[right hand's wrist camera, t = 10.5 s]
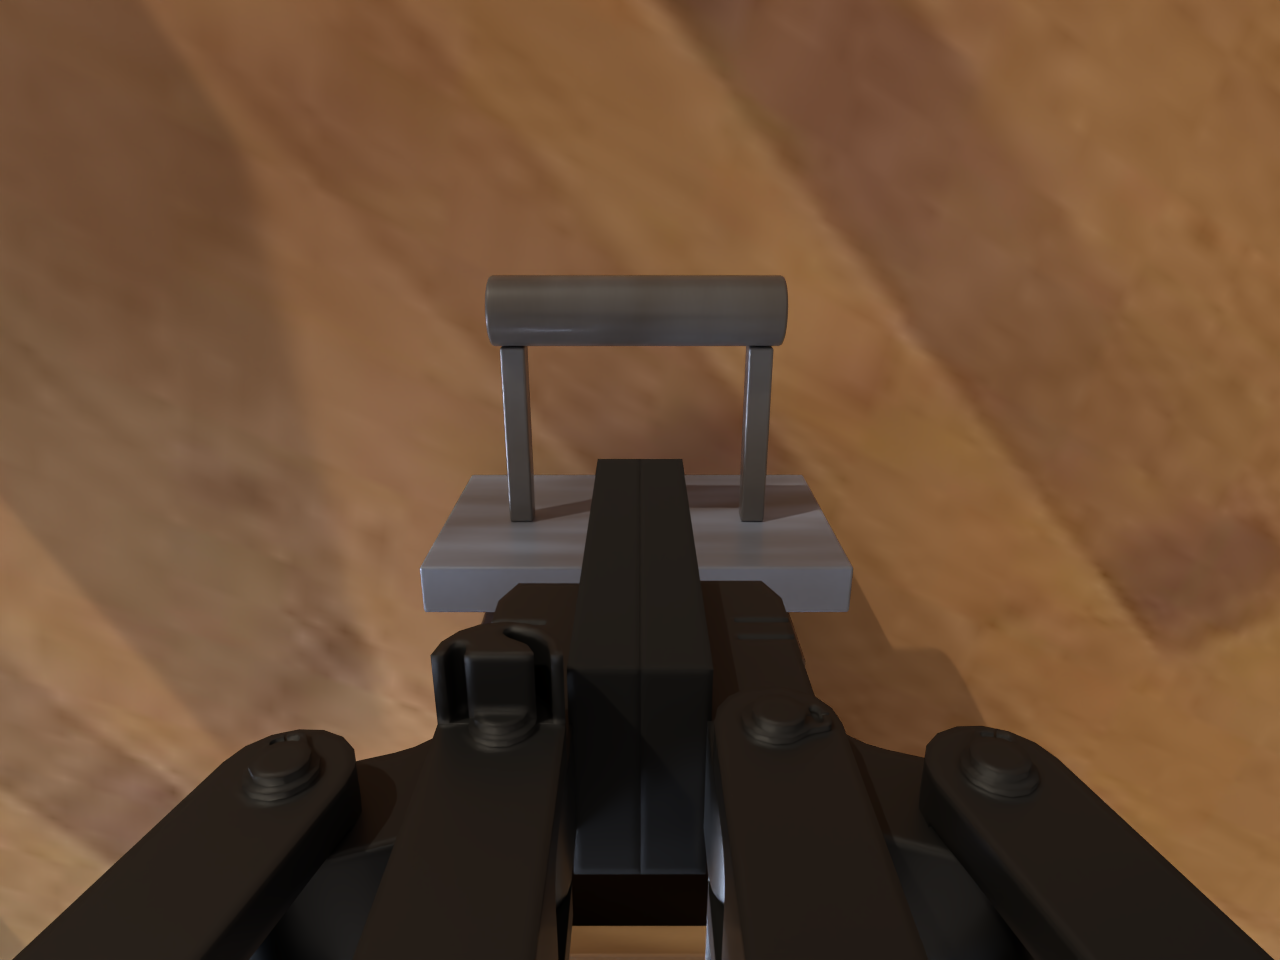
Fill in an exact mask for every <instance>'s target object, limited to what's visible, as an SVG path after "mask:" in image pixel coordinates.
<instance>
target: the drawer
mask: <svg viewBox="0 0 1280 960" xmlns="http://www.w3.org/2000/svg"><path fill="white" fill-rule="evenodd" d="M485 318H486V327H487V333H488V337H489V340H490V342H491V344H492V345H494V346H502V347H501V348H500V360H501V376H502V393H503V409H504V426H505V442H506V459H507V475H472V476H471V478H470V480H469V482H468V483H467V485H466V487H465V489H464V491H463V492H462V494H461V496H460V498H459V499H458V501H457V503H456V505H455V507H454V508H453V510H452V512H451V514H450V515H449V517H448V519H447V521H446V523H445V524H444V526H443V528H442V530H441V531H440V533H439V535H438V537H437V539H436V540H435V542H434V544H433V546H432V547H431V549H430V551H429V553H428V555H427V556H426V558H425V560H424V562H423V563H422V565H421V567H420V574H421V584H422V593H423V603H424V610H425V612H485V615H484V618H483V621H482V624H486V623H492V619H493V616H494V613H495V610H496V607H497V604H498V601H499V600H500V599H501V598H502V597H503V596H504V595H506V594H507V593H508V592H509V591H510V590H511V589H513V588H514V587H515V586H516V585H517V584H518V583H580V576H581V569H582V562H583V556H584V549H585V542H586V536H587V529H588V522H589V515H590V509H591V502H592V495H593V488H594V482H595V475H534V473H533V453H532V432H531V412H530V391H529V371H528V350H527V346H746V361H745V383H744V405H743V427H742V449H741V471H740V475H685V482H686V488H687V495H688V502H689V509H690V515H691V522H692V529H693V536H694V542H695V549H696V556H697V562H698V569H699V576H700V581H763V582H764V583H765V584H766V585H767V586H768V587H769V588H771V589H772V590H773V591H774V592H775V593H776V594H778V595H779V596H780V597H781V598H782V600H783V603H784V606H785V609H786V612H787V615H788V621H789V622H790V624H791V627H792V630H793V633H794V639H796V642H797V645H798V648H799V651H800V654H801V657H802V660H803V663H804V666H805V659H804V656H803V653H802V650H801V647H800V644H799V641H798V638H797V635H796V632H795V629H794V627H793V624H792V621H791V618H790V615H789V612H848V610H849V605H850V595H851V585H852V575H853V567H852V565H851V563H850V561H849V559H848V558H847V556H846V554H845V552H844V550H843V548H842V547H841V545H840V543H839V541H838V539H837V537H836V536H835V534H834V532H833V530H832V528H831V526H830V525H829V523H828V521H827V519H826V517H825V515H824V514H823V512H822V510H821V508H820V506H819V504H818V503H817V501H816V499H815V497H814V495H813V493H812V492H811V490H810V488H809V486H808V484H807V482H806V481H805V479H804V477H803V476H802V475H766V470H767V452H768V435H769V418H770V400H771V383H772V366H773V348H772V347H771V346H780V345H781V344H782V343H783V340H784V338H785V334H786V328H787V318H788V292H787V285H786V281H785V278H784V277H783V276H781V275H493V276H490V277H489V279H488V281H487V285H486V292H485ZM572 901H573V922H572V926H707V901H708V867H707V857H706V874H574V861H573V871H572Z"/></svg>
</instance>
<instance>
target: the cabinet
mask: <svg viewBox="0 0 1280 960" xmlns="http://www.w3.org/2000/svg"><path fill="white" fill-rule="evenodd" d="M706 927H707V926H572V933H571V945H570V956H569V960H705V953H706Z"/></svg>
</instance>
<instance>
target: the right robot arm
mask: <svg viewBox="0 0 1280 960" xmlns="http://www.w3.org/2000/svg"><path fill="white" fill-rule="evenodd" d="M431 664H432V673H433V683H434V692H435V702H436V711H437V721H438V725H437V728H436V731H435V734H434V736H433V739H431V740H428V741H426V742H424V743H422V744H420V745H418V746H416V747H413V748H409V749H406V750H403V751H399V752H396V753H392V754H387V755H383V756H378V757H374V758H369V759H364V760H360V761H356V759H355V752H354V749H353V748H352V746H351V745H350V744H349V743H348V742H347V741H346V740H345V739H344V738H343V737H342V736H339V735H336V734H333V733H330V732H328V731H325V730H300V729H299V730H294V731H289V732H284V733H279V734H275V735H271V736H268V737H266V738H264V739H261V740H259V741H257V742H254V743H252V744H250V745H247V746H245V747H244V748H242V749H241V750H240V751H238V752H237V753H235V754H234V755H233V756H231V757H230V758H228V759H227V760H226V761H224V762H223V763H222V764H221V765H220V766H219V767H218V768H217V769H215V770H214V771H213V772H212V773H211V774H210V775H209V776H208V777H207V778H206V779H205V780H204V781H203V782H202V783H201V784H199V785H198V786H197V787H196V788H195V789H194V790H193V791H192V792H191V793H190V794H189V795H188V796H187V797H186V798H184V799H183V800H182V801H181V802H180V803H179V804H178V805H177V806H176V807H175V808H174V809H173V810H172V811H171V812H170V813H168V814H167V815H166V816H165V817H164V818H163V819H162V820H161V821H160V822H159V823H158V824H157V825H156V826H155V827H154V828H152V829H151V830H150V831H149V832H148V833H147V834H146V835H145V836H144V837H143V838H142V839H141V840H140V841H139V842H137V843H136V844H135V845H134V846H133V847H132V848H131V849H130V850H129V851H128V852H127V853H126V854H125V855H124V856H123V857H121V858H120V859H119V860H118V861H117V862H116V863H115V864H114V865H113V866H112V867H111V868H110V869H109V870H108V871H106V872H105V873H104V874H103V875H102V876H101V877H100V878H99V879H98V880H97V881H96V882H95V883H94V884H93V885H92V886H90V887H89V888H88V889H87V890H86V891H85V892H84V893H83V894H82V895H81V896H80V897H79V898H78V899H77V900H76V901H74V902H73V903H72V904H71V905H70V906H69V907H68V908H67V909H66V910H65V911H64V912H63V913H62V914H61V915H59V916H58V917H57V918H56V919H55V920H54V921H53V922H52V923H51V924H50V925H49V926H48V927H47V928H46V929H45V930H43V931H42V932H41V933H40V934H39V935H38V936H37V937H36V938H35V939H34V940H33V941H32V942H31V943H30V944H29V945H27V946H26V947H25V948H24V949H23V950H22V951H21V952H20V953H19V954H18V955H17V956H16V957H15V958H14V959H12V960H569V956H570V945H571V933H572V922H573V901H572V871H573V861H574V874H706V857H707V867H708V901H707V927H706V953H705V960H1274V959H1273V958H1272V957H1271V956H1270V955H1269V954H1267V953H1266V952H1265V951H1264V950H1263V949H1262V948H1261V947H1260V946H1259V945H1258V944H1257V943H1256V942H1255V941H1253V940H1252V939H1251V938H1250V937H1249V936H1248V935H1247V934H1246V933H1245V932H1244V931H1243V930H1242V929H1241V928H1239V927H1238V926H1237V925H1236V924H1235V923H1234V922H1233V921H1232V920H1231V919H1230V918H1229V917H1228V916H1227V915H1225V914H1224V913H1223V912H1222V911H1221V910H1220V909H1219V908H1218V907H1217V906H1216V905H1215V904H1214V903H1213V902H1212V901H1210V900H1209V899H1208V898H1207V897H1206V896H1205V895H1204V894H1203V893H1202V892H1201V891H1200V890H1199V889H1198V888H1196V887H1195V886H1194V885H1193V884H1192V883H1191V882H1190V881H1189V880H1188V879H1187V878H1186V877H1185V876H1184V875H1182V874H1181V873H1180V872H1179V871H1178V870H1177V869H1176V868H1175V867H1174V866H1173V865H1172V864H1171V863H1170V862H1168V861H1167V860H1166V859H1165V858H1164V857H1163V856H1162V855H1161V854H1160V853H1159V852H1158V851H1157V850H1156V849H1154V848H1153V847H1152V846H1151V845H1150V844H1149V843H1148V842H1147V841H1146V840H1145V839H1144V838H1143V837H1142V836H1140V835H1139V834H1138V833H1137V832H1136V831H1135V830H1134V829H1133V828H1132V827H1131V826H1130V825H1129V824H1128V823H1126V822H1125V821H1124V820H1123V819H1122V818H1121V817H1120V816H1119V815H1118V814H1117V813H1116V812H1115V811H1114V810H1112V809H1111V808H1110V807H1109V806H1108V805H1107V804H1106V803H1105V802H1104V801H1103V800H1102V799H1101V798H1100V797H1098V796H1097V795H1096V794H1095V793H1094V792H1093V791H1092V790H1091V789H1090V788H1089V787H1088V786H1087V785H1086V784H1084V783H1083V782H1082V781H1081V780H1080V779H1079V778H1078V777H1077V776H1076V775H1075V774H1074V773H1073V772H1072V771H1070V770H1069V769H1068V768H1067V767H1066V766H1065V765H1064V764H1063V763H1062V762H1061V761H1060V760H1059V759H1058V758H1056V757H1055V756H1053V755H1052V754H1051V753H1049V752H1048V751H1046V750H1045V749H1044V748H1042V747H1041V746H1039V745H1038V744H1036V743H1035V742H1033V741H1030V740H1028V739H1025V738H1023V737H1021V736H1018V735H1016V734H1014V733H1011V732H1009V731H1004V730H1000V729H994V728H989V727H984V726H959V727H954V728H951V729H949V730H946V731H943V732H940V733H937V735H936V736H935V737H934V738H933V739H932V740H931V741H930V742H929V743H928V745H927V746H926V752H925V758H922V757H918V756H913V755H908V754H904V753H899V752H895V751H890V750H886V749H882V748H879V747H875V746H872V745H869V744H866V743H863V742H861V741H859V740H857V739H855V738H853V737H850V736H848V735H847V734H846V732H845V730H844V727H843V724H842V722H841V721H840V719H839V718H838V716H837V715H836V713H835V712H834V711H833V709H832V708H831V707H829V706H828V705H826V704H825V703H824V702H822V701H821V700H819V699H818V698H816V697H815V696H814V693H813V690H812V687H811V684H810V681H809V678H808V675H807V672H806V669H805V666H804V663H803V660H802V657H801V654H800V651H799V648H798V645H797V642H796V639H794V633H793V630H792V627H791V624H790V622H789V621H788V615H787V612H786V609H785V606H784V603H783V600H782V598H781V597H780V596H779V595H778V594H776V593H775V592H774V591H773V590H772V589H771V588H769V587H768V586H767V585H766V584H765V583H764V582H763V581H700V576H699V569H698V562H697V556H696V549H695V542H694V536H693V529H692V522H691V515H690V509H689V502H688V495H687V488H686V482H685V475H684V468H683V462H682V459H598V462H597V468H596V475H595V482H594V488H593V495H592V502H591V509H590V515H589V522H588V529H587V536H586V542H585V549H584V556H583V562H582V569H581V576H580V583H518V584H517V585H516V586H515V587H514V588H513V589H511V590H510V591H509V592H508V593H507V594H506V595H504V596H503V597H502V598H501V599H500V600H499V601H498V604H497V607H496V610H495V613H494V616H493V619H492V623H486V624H480V625H477V626H474V627H471V628H468V629H464V630H461V631H459V632H457V633H455V634H454V635H452V636H450V637H449V638H447V639H445V640H444V641H442V642H441V643H440V644H439V646H438V647H437V648H436V649H435V651H434V652H433V653H432V654H431Z"/></svg>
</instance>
